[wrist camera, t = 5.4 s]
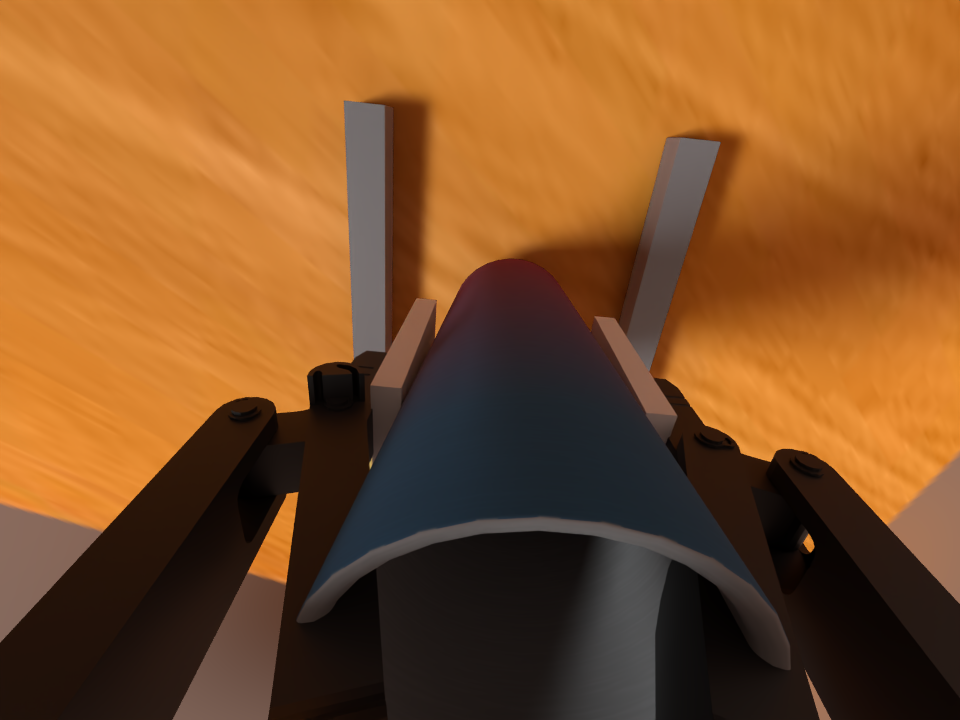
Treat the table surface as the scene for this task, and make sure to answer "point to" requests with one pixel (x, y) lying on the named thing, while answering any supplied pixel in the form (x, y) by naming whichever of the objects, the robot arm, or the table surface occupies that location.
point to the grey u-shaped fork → (373, 231)
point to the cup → (527, 524)
